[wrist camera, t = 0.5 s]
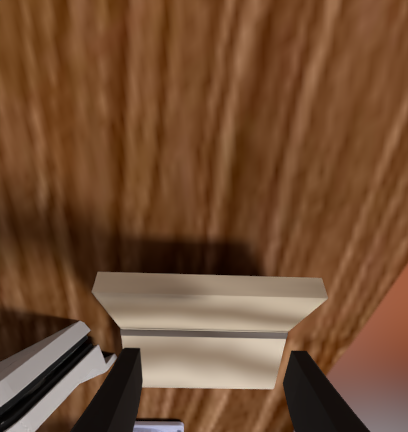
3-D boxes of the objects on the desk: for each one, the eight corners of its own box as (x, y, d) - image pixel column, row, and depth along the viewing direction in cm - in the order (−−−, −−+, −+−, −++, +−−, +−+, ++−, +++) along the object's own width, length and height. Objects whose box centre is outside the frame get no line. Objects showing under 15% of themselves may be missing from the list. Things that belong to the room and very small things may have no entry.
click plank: (285, 315, 20) (288, 331, 19) (123, 311, 20) (119, 327, 19) (321, 278, 15) (328, 298, 14) (97, 271, 14) (91, 292, 13)
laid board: (270, 375, 23) (273, 389, 22) (130, 373, 23) (127, 387, 22) (283, 319, 20) (287, 332, 19) (124, 316, 20) (120, 328, 19)
